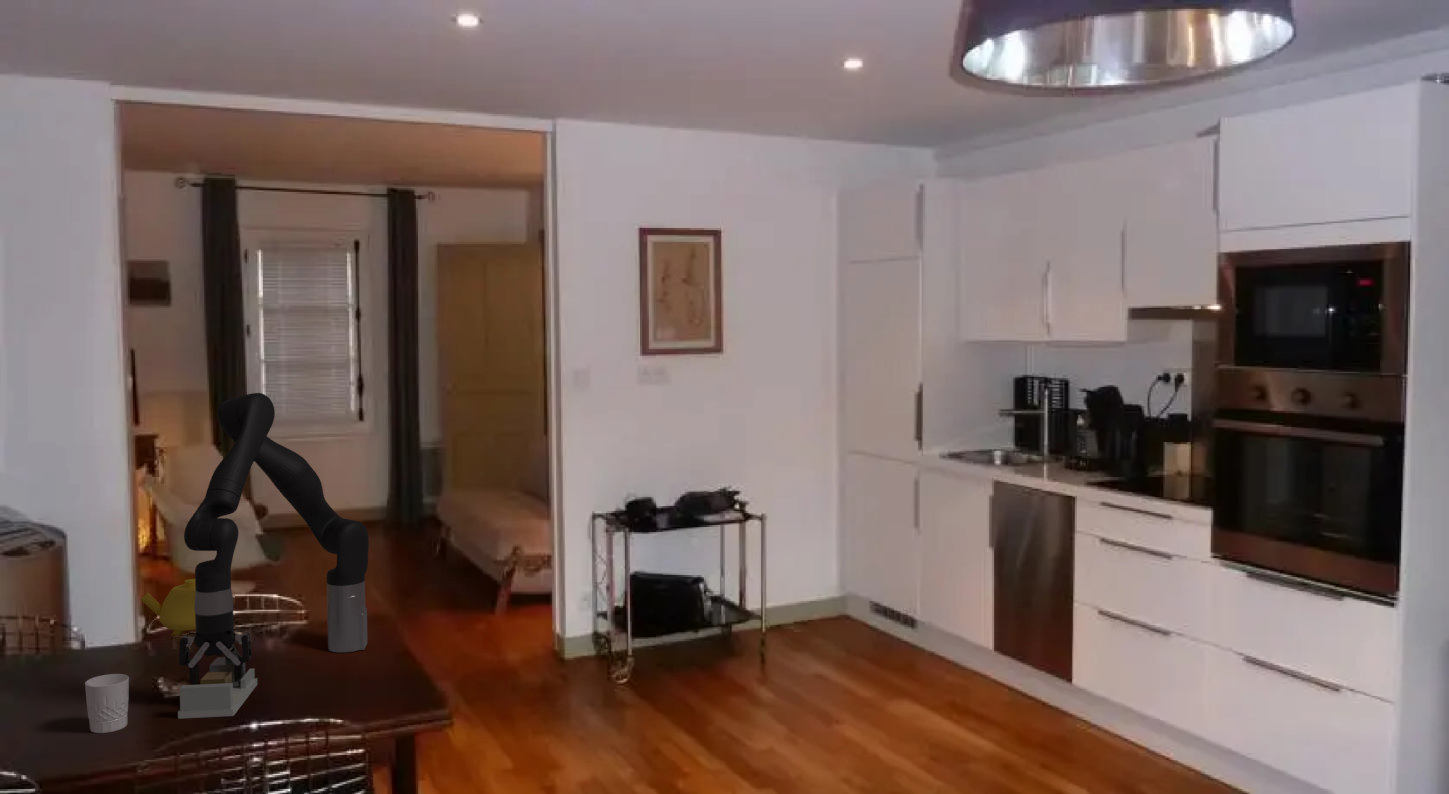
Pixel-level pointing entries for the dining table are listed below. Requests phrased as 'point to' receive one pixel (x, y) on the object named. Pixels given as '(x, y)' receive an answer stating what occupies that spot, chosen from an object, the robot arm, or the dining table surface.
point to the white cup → (107, 702)
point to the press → (215, 698)
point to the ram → (226, 667)
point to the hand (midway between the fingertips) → (216, 682)
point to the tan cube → (217, 678)
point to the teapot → (176, 608)
